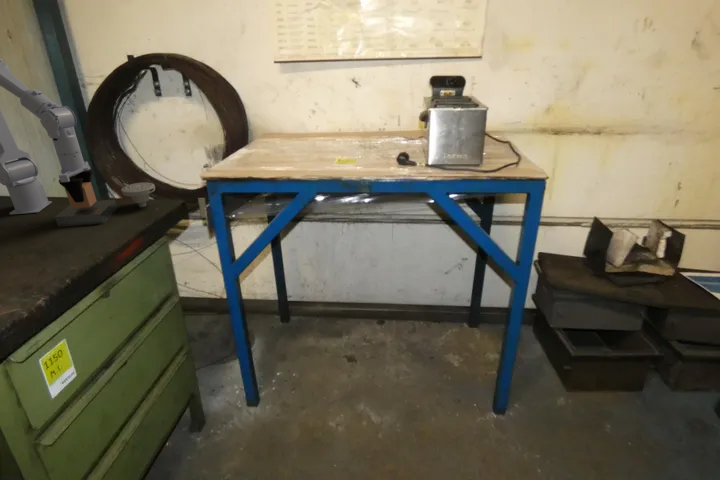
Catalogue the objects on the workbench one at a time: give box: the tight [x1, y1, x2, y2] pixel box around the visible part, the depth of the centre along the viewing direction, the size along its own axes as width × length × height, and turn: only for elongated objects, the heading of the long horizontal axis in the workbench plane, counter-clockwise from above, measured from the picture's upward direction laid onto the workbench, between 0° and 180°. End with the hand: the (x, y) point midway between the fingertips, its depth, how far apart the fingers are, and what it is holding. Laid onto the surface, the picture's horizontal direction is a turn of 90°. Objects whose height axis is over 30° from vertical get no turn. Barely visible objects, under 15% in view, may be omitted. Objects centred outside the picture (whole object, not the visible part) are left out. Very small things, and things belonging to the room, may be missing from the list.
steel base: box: [54, 199, 118, 228], centre depth 125 cm, size 12×12×3 cm
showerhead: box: [120, 181, 156, 208], centre depth 133 cm, size 9×7×10 cm
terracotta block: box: [64, 181, 98, 208], centre depth 123 cm, size 5×5×6 cm
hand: (83, 198), depth 123 cm, fingers closed on terracotta block, 5 cm apart
